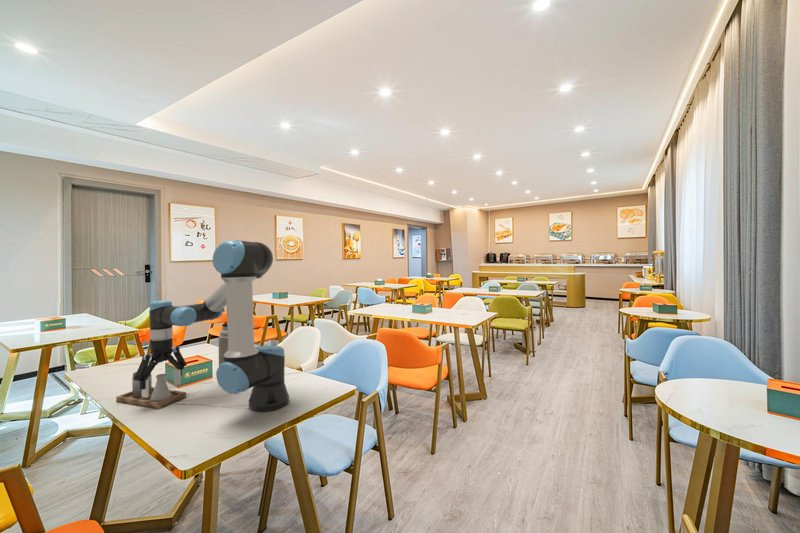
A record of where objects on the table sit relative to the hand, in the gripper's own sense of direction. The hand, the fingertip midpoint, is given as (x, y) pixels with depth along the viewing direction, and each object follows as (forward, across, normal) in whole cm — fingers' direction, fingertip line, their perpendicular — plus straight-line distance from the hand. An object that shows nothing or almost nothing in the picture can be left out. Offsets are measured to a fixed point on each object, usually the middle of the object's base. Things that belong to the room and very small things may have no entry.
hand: (162, 390), depth 137 cm
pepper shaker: (+4, 0, -11) cm, 12 cm away
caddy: (+4, 0, -6) cm, 7 cm away
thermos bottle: (+5, -25, +9) cm, 27 cm away
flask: (+4, 0, -1) cm, 4 cm away
